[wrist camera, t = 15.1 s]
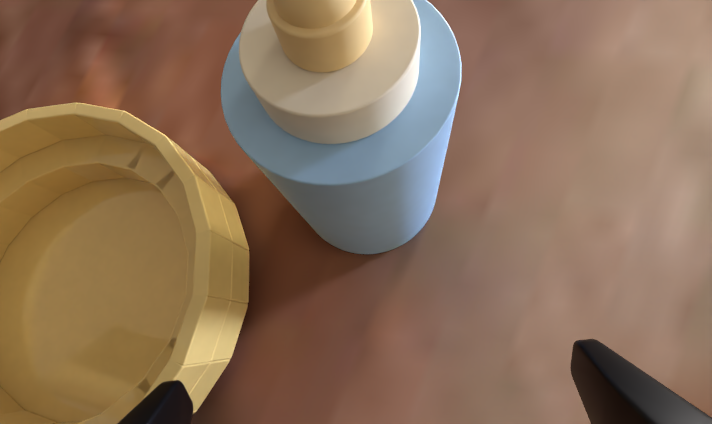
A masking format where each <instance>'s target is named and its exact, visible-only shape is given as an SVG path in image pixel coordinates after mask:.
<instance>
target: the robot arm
mask: <svg viewBox="0 0 712 424" xmlns="http://www.w3.org/2000/svg"><path fill="white" fill-rule="evenodd" d="M571 374H572V377H573V380H574V382H575V385H576V387H577V390H578V392H579V395H580V397H581V400H582V402H583V405H584V407H585V410H586V412H587V414H588V417H589V419H590V422H591V424H712V418H711V417H710V416H708V415H707V414H705V413H704V412H702V411H701V410H699V409H698V408H696V407H695V406H693V405H692V404H691V403H689V402H688V401H686V400H685V399H683V398H682V397H680V396H679V395H677V394H676V393H674V392H673V391H671V390H670V389H668V388H667V387H665V386H664V385H663V384H661V383H660V382H658V381H657V380H655V379H654V378H652V377H651V376H649V375H648V374H646V373H645V372H643V371H642V370H640V369H639V368H637V367H636V366H635V365H633V364H632V363H630V362H629V361H627V360H626V359H624V358H623V357H621V356H620V355H618V354H617V353H615V352H614V351H612V350H611V349H609V348H608V347H607V346H605V345H604V344H602V343H601V342H599V341H597V340H595V339H587V340H578V341H576V342H575V343H574V345H573V352H572V360H571ZM192 416H193V402H192V400H191V398H190V396H189V394H188V392H187V390H186V388H185V386H184V384H183V383H182V382H181V381H180V380H174V381H165V382H162V383H161V384H159V385H158V386H157V387H156V388H155V389H154V390H153V391H152V392H151V393H150V394H149V395H147V396H146V397H145V398H144V399H143V400H142V401H141V402H140V403H139V404H138V405H137V406H136V407H134V408H133V409H132V410H131V411H130V412H129V413H128V414H127V415H126V416H125V417H124V418H123V419H121V420H120V421H119V422H118V423H117V424H191V420H192Z"/></svg>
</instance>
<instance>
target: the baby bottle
mask: <svg viewBox="0 0 712 424" xmlns="http://www.w3.org/2000/svg"><path fill="white" fill-rule="evenodd" d="M460 84H461V58H460V52H459V48H458V45H457V42H456V39H455V37H454V35H453V33H452V31H451V29H450V27H449V25H448V23H447V22H446V21H445V19H444V18H443V16H442V15H441V14H440V13H439V12H438V11H437V9H436V8H435V7H434V6H433V5H432V4H430V3H429V2H428V1H427V0H258V1H257V2H256V4H255V5H254V6H253V8H252V9H251V11H250V12H249V14H248V16H247V18H246V20H245V22H244V25H243V28H242V31H241V33H240V34H239V36H238V37H237V39H236V40H235V42H234V44H233V46H232V48H231V50H230V52H229V54H228V57H227V60H226V62H225V65H224V70H223V75H222V81H221V101H222V108H223V113H224V117H225V120H226V123H227V125H228V127H229V130H230V132H231V134H232V135H233V137H234V139H235V140H236V142H237V143H238V145H239V146H240V147H241V148H242V149H243V151H244V152H245V153H246V154H247V155H248V156H249V158H250V159H251V160H252V161H253V162H254V163H255V164H256V165H257V166H258V168H259V169H260V170H261V171H262V172H263V173H264V174H265V175H266V177H267V178H268V179H269V180H270V181H271V182H272V183H273V184H274V186H275V187H276V188H277V189H278V190H279V191H280V192H281V193H282V194H283V196H284V197H285V198H286V199H287V200H288V201H289V202H290V203H291V205H292V206H293V207H294V208H295V209H296V210H297V211H298V212H299V214H300V215H301V216H302V217H303V218H304V219H305V220H306V221H307V223H308V224H309V225H310V226H311V227H312V228H313V229H314V230H315V231H316V233H317V234H318V235H319V236H320V237H322V238H323V239H324V240H325V241H326V242H328V243H329V244H331V245H333V246H335V247H337V248H339V249H341V250H344V251H347V252H351V253H356V254H377V253H382V252H386V251H389V250H392V249H395V248H397V247H399V246H401V245H403V244H405V243H406V242H408V241H409V240H411V239H412V238H413V237H414V236H415V235H416V234H417V233H418V232H419V231H420V230H421V229H422V228H423V227H424V225H425V224H426V222H427V221H428V219H429V217H430V215H431V213H432V211H433V208H434V204H435V201H436V196H437V192H438V187H439V182H440V178H441V173H442V169H443V164H444V160H445V155H446V150H447V146H448V141H449V137H450V132H451V128H452V123H453V119H454V114H455V109H456V105H457V100H458V96H459V90H460Z"/></svg>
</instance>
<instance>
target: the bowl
mask: <svg viewBox="0 0 712 424" xmlns="http://www.w3.org/2000/svg"><path fill="white" fill-rule="evenodd" d="M248 302H249V247H248V244H247V240H246V237H245V234H244V231H243V228H242V224H241V221H240V218H239V215H238V211H237V208H236V206H235V204H234V203H233V201H232V200H231V199H230V197H229V196H228V195H227V193H226V192H225V191H224V189H223V188H222V187H221V186H220V184H219V183H218V182H217V180H216V179H215V178H214V176H213V175H212V174H211V173H210V172H209V171H208V170H207V169H206V168H205V167H204V166H202V165H201V164H200V163H199V162H197V161H196V160H195V159H194V158H193V157H191V156H190V155H189V154H188V153H186V152H185V151H184V150H183V149H182V148H180V147H179V146H178V145H177V144H176V143H174V142H173V141H172V140H171V139H169V138H168V137H167V136H166V135H164V134H163V133H161V132H159V131H158V130H156V129H154V128H153V127H151V126H149V125H148V124H146V123H145V122H143V121H141V120H140V119H138V118H136V117H135V116H133V115H131V114H130V113H128V112H125V111H122V110H117V109H111V108H106V107H100V106H94V105H89V104H83V103H69V104H61V105H54V106H47V107H39V108H32V109H28V110H24V111H21V112H19V113H17V114H14V115H12V116H9V117H7V118H5V119H2V120H0V424H117V423H118V422H119V421H120V420H121V419H123V418H124V417H125V416H126V415H127V414H128V413H129V412H130V411H131V410H132V409H133V408H134V407H136V406H137V405H138V404H139V403H140V402H141V401H142V400H143V399H144V398H145V397H146V396H147V395H149V394H150V393H151V392H152V391H153V390H154V389H155V388H156V387H157V386H158V385H159V384H161V383H162V382H165V381H174V380H180V381H181V382H182V383H183V384H184V386H185V388H186V390H187V392H188V394H189V396H190V398H191V400H192V402H193V414H194V413H196V411H197V410H198V409H199V407H200V406H201V404H202V403H203V401H204V400H205V398H206V397H207V395H208V393H209V392H210V390H211V389H212V387H213V386H214V384H215V383H216V381H217V380H218V378H219V377H220V375H221V374H222V372H223V371H224V369H225V368H226V366H227V365H228V363H229V362H230V359H231V358H232V355H233V351H234V348H235V345H236V342H237V339H238V336H239V333H240V329H241V326H242V323H243V320H244V317H245V314H246V310H247V307H248V304H247V303H248Z"/></svg>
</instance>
